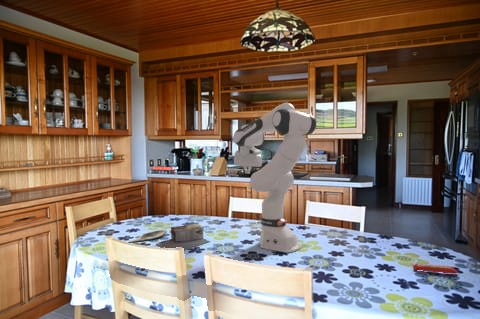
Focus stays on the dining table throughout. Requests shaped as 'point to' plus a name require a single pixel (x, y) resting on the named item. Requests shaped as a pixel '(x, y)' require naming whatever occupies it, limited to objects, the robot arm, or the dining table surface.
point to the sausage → (434, 268)
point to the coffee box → (186, 232)
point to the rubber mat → (183, 243)
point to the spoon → (150, 235)
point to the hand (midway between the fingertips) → (247, 173)
